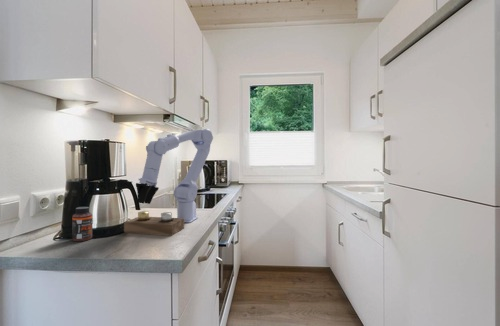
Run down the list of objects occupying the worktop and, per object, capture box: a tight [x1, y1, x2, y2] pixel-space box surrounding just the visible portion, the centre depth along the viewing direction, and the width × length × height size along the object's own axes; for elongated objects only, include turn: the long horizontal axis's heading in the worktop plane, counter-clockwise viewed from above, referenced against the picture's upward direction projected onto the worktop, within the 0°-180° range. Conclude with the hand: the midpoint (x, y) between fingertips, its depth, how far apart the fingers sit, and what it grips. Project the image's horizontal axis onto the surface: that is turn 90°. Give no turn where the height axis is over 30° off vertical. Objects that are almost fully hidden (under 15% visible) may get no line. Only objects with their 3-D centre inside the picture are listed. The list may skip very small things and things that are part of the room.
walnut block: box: [123, 216, 185, 236], centre depth 103 cm, size 10×20×4 cm, turn 79°
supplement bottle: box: [71, 206, 93, 242], centre depth 91 cm, size 6×6×11 cm
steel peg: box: [160, 211, 173, 223], centre depth 102 cm, size 4×4×4 cm
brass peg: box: [137, 210, 150, 221], centre depth 103 cm, size 4×4×4 cm
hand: (144, 203), depth 102 cm, fingers open, 7 cm apart
